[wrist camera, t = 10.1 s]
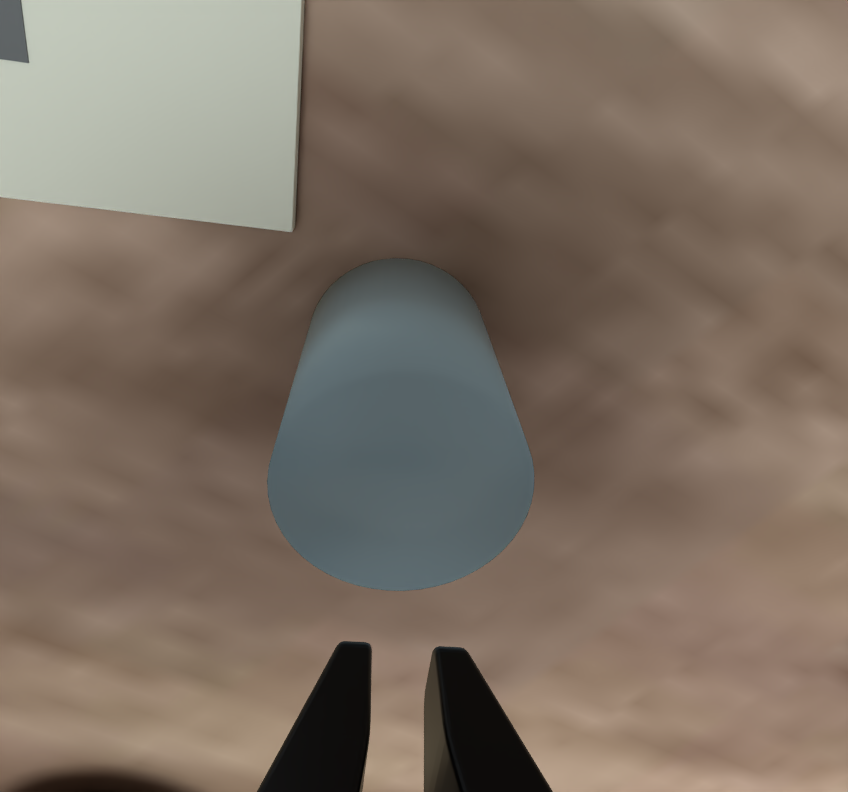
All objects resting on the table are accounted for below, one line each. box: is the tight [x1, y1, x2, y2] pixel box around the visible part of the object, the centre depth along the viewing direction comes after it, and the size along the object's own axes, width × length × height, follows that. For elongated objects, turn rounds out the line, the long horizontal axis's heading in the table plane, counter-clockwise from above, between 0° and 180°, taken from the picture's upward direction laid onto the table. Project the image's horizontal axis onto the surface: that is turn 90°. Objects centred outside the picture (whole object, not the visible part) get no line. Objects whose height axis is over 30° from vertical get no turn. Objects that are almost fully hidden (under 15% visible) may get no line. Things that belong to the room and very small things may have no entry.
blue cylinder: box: [267, 258, 534, 591], centre depth 15 cm, size 5×5×7 cm
